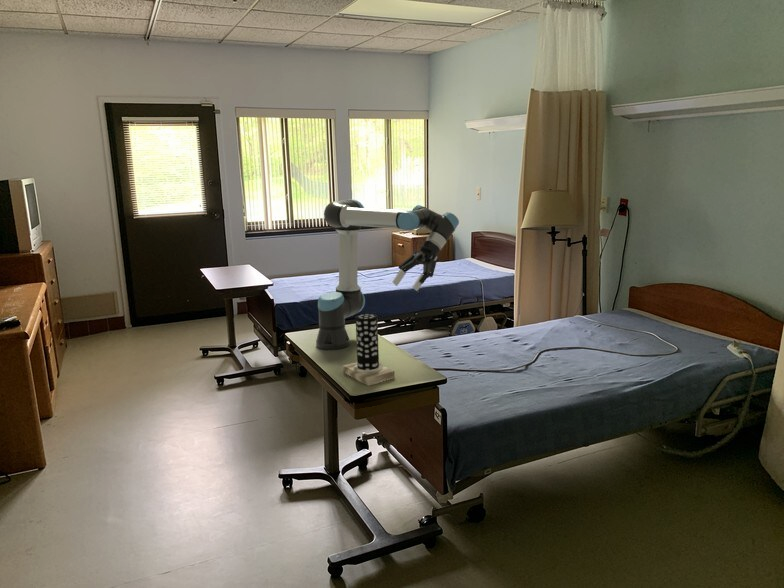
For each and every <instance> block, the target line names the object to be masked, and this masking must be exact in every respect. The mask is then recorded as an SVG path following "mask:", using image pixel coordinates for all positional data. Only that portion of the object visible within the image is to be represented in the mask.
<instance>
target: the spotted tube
mask: <svg viewBox="0 0 784 588" xmlns="http://www.w3.org/2000/svg"><path fill="white" fill-rule="evenodd" d="M378 323H379V322H378V315H377V314H375V313H363V314H362V313H361V314H358V315H355V336H356V337H355V338H356V339H355V340H356V358H357V359H356V362H357V366H358V368H359V369H361V370H374V369H377V368H378V367H379V364H380V360H379V359H380V355H379V353H380V351H379V331H378V330H379V328H378V327H379V326H378V325H379V324H378Z"/></svg>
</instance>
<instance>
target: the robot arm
mask: <svg viewBox="0 0 784 588" xmlns="http://www.w3.org/2000/svg"><path fill="white" fill-rule="evenodd" d="M323 217H324V218H323V219H324V220H325V222H326V223H327V224H328V226H330V227H333V228H335V231H336V232H337V233H338V285H337V286H336V287H335V291H330V292H326V293H323V294H321V295H320V296H319V297H318V300H317V311H318V312H317V313H318V328H319V329H318V334H317V337H316V340H315V341H316V342H315V344H316V347H317V348H318V349H320V350H327V351H328V350H329V351H330V350H332V351H333V350H339V349H340V350H341V349H344V348H347V347H349V346H350V345H351V343H350V338H349V334H348V331H347V330H346V322H345V321H346V319H347V318H349V317H351V316H354V315H355V316H356V314H358V313H360V312H361V311H362V310H363V309H364V307H365V305H366V298H365V295H364V294H363V291H361V286H360V285H359V284H358V256H359V255H358V253H359V252H358V241H359V240H358V234H359V233H360V231H361V230H362V227H369V228H370V227H371V228H384V229H399V230H402V231H405V232H406V231H408V232H410V231H414V230H416V229H417V230H418V229H422V228H425V229H427V230H430V233H429V234H428V236H427V237H426V239H425V240H424V241H423V243H422V244H421V246H420V251H419V252H417V251H416V250H415V251H413V253H412V254H411V255H410V256H409V257H408V258H407V259H406V260H404V261H403V262H401V264H399V265H398V269H399V271H398V273H397V274H396V275H395V278H393V280H392V283H393V285H394V286H396V287H398V285H399V284H400V283H401V281H402V280H403V279H404V277H405V276H406V274H407V272H408V271H409V270H411V269H412V268H414V267H416V266H420V265H423V266H422V270H423V271H422V273H420V275H419V276H418V278H417V279H416V281H415V282H414V284H413V285H412V289H414V291H416V292H418V291H419V289H420V288H421V286H422V285H423V284H425V282H426V280H427V279H428V278H433V276H434V273H435V270H436V265H437V263H438V261H439V257H438V256H439V254H440V252H441V250H442V249H443V247H444V246H445V245H446V244H447V242H448V241H449V239H450V238H451V236H452V235H453V234H454V232H455V231H456V229H457V227H458V226H459V224H460V220H459V218H458V217H457V216H456V215H455V214H454V213H452V212H448V211H447V212H444V214H439V213H437V212H436V211H434V210H431V209H429V208H427V207H426V206H423V205H420V204H418V205H415V206H414V207H413V209H412V210H401V209H400V210H398V209H383V208H382V209H381V208H380V209H379V208H367V207H366V208H365V206H364V204H362V203H361V202H360V201H359V200H357V199H349V198H348V199H341V200H334V201H331V202H330V203H328V204H327V205H326V207H325V208H324V211H323Z"/></svg>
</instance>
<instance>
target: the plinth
mask: <svg viewBox="0 0 784 588" xmlns="http://www.w3.org/2000/svg"><path fill="white" fill-rule="evenodd" d="M342 373H343V374H345V375H346V374H347V375H346V376H348V375H349V377H350V376H351V378H352V379H354V380H356V381H358V382H360V383H362V384H364V385H366V386H373V385H376V384H379V382H380V383H384V382H386V380H387V381H390V379H391V380H395V370H393V369H391V368H389V367H387V366H385V365H382V364H381V363H379V367H378V368H377V369H374V370H361V369H359V368H358V366H357V361H356V362H352V363H347V364H343V365H342ZM383 381H384V382H383Z"/></svg>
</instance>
